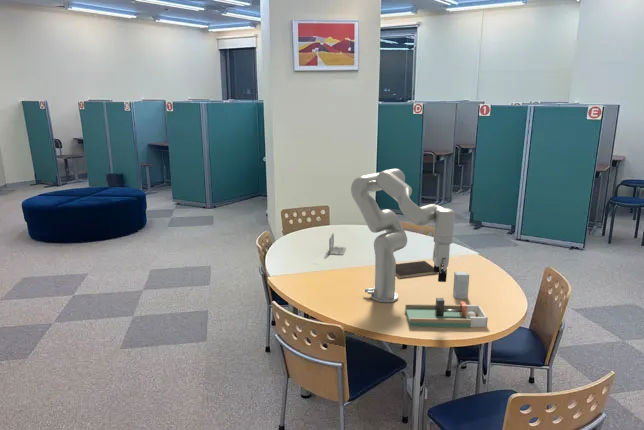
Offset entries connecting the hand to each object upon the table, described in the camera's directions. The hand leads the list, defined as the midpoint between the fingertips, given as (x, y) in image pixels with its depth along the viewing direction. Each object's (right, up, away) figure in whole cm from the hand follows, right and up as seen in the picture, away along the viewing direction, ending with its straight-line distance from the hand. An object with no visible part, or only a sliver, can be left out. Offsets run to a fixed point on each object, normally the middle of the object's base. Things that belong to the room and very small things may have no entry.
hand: (439, 276), depth 195 cm
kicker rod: (+5, -16, +3) cm, 18 cm away
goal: (+16, -19, +3) cm, 25 cm away
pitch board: (0, -19, +4) cm, 19 cm away
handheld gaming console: (-40, +4, +89) cm, 97 cm away
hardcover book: (0, -5, +58) cm, 58 cm away
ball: (+14, -17, +3) cm, 22 cm away
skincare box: (+16, -13, +25) cm, 33 cm away
